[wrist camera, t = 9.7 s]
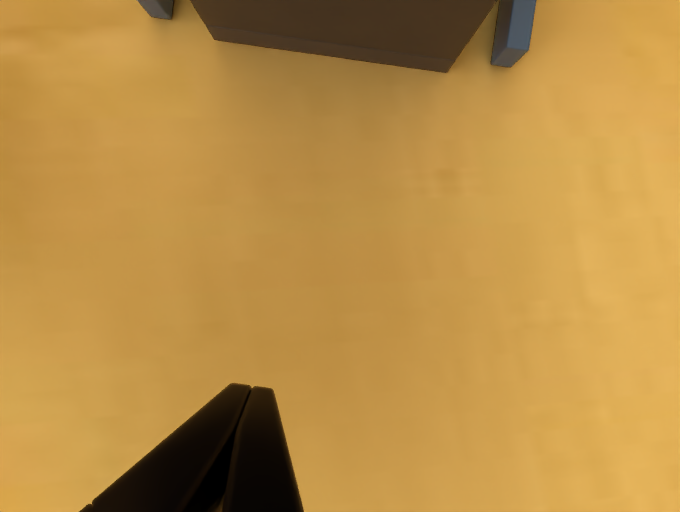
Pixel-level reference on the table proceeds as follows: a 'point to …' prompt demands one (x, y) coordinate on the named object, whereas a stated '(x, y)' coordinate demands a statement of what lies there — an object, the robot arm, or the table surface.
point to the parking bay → (508, 34)
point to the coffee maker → (352, 27)
